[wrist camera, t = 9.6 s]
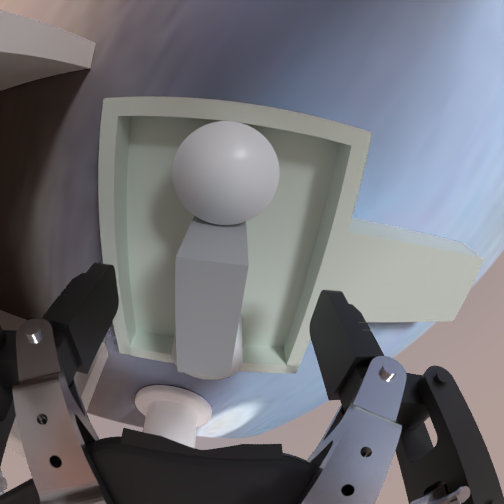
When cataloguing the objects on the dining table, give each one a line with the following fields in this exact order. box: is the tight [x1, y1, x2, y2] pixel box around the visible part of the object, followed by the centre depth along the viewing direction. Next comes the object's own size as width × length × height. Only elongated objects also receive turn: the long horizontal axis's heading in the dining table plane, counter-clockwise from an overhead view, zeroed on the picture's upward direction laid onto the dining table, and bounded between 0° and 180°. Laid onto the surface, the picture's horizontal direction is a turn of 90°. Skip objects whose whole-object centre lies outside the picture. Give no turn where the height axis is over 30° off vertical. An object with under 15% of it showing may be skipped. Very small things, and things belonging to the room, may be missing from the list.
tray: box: [98, 96, 484, 380], centre depth 12 cm, size 22×14×6 cm, turn 81°
